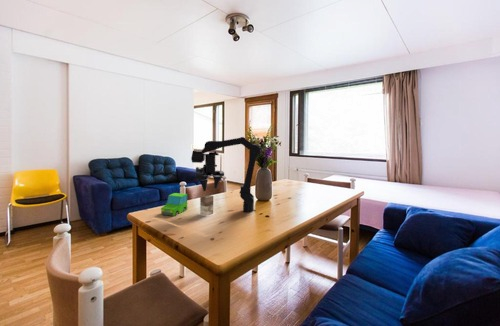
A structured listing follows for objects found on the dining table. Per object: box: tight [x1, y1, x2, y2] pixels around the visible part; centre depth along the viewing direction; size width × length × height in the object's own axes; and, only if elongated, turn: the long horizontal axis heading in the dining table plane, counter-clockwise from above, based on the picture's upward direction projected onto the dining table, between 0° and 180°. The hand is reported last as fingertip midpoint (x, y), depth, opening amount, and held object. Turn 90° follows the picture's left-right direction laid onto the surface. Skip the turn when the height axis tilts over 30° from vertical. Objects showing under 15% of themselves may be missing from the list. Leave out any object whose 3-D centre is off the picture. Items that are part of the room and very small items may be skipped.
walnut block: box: [199, 194, 214, 207], centre depth 129 cm, size 5×5×5 cm
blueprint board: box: [198, 212, 217, 218], centre depth 131 cm, size 14×10×1 cm
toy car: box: [160, 192, 188, 217], centre depth 131 cm, size 10×13×10 cm
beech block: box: [199, 204, 214, 217], centre depth 130 cm, size 5×5×5 cm
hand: (210, 189), depth 137 cm, fingers open, 9 cm apart
